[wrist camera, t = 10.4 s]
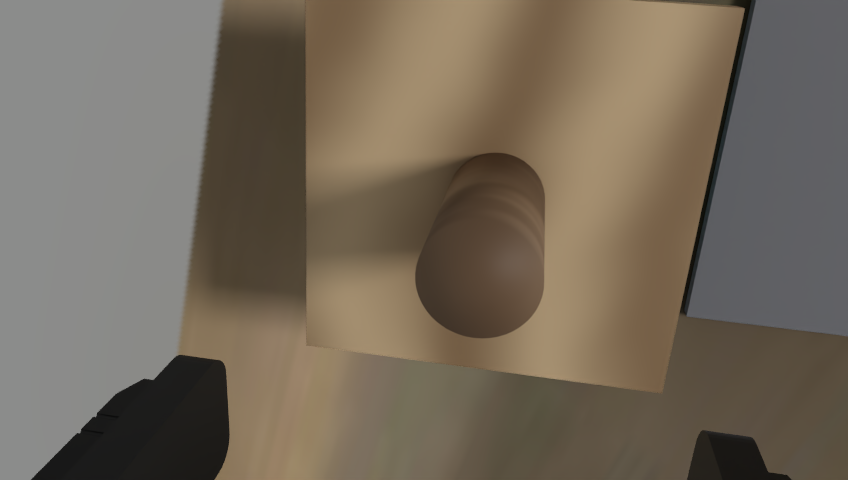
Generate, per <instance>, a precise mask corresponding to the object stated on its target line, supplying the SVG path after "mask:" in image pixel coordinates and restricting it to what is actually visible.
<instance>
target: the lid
mask: <svg viewBox="0 0 848 480" xmlns="http://www.w3.org/2000/svg"><path fill="white" fill-rule="evenodd" d="M744 11H745V8H742V7H738V6H728V5H714V4H700V3H685V2H671V1H656V0H305V32H306V345H308V346H315V347H323V348H330V349H337V350H345V351H352V352H360V353H367V354H374V355H382V356H389V357H397V358H404V359H411V360H419V361H426V362H434V363H441V364H448V365H456V366H463V367H471V368H478V369H485V370H493V371H500V372H508V373H515V374H522V375H530V376H537V377H545V378H552V379H559V380H567V381H574V382H582V383H589V384H596V385H604V386H611V387H619V388H626V389H633V390H641V391H648V392H655V393H662V391H663V387H664V382H665V377H666V373H667V368H668V363H669V359H670V354H671V350H672V345H673V340H674V336H675V331H676V326H677V322H678V317H679V312H680V308H681V303H682V298H683V294H684V289H685V285H686V280H687V275H688V271H689V266H690V261H691V257H692V252H693V247H694V243H695V238H696V233H697V229H698V224H699V220H700V215H701V210H702V206H703V201H704V196H705V192H706V187H707V182H708V178H709V173H710V169H711V164H712V159H713V155H714V150H715V145H716V141H717V136H718V131H719V127H720V122H721V117H722V113H723V108H724V104H725V99H726V94H727V90H728V85H729V80H730V76H731V71H732V66H733V62H734V57H735V52H736V48H737V43H738V39H739V34H740V29H741V25H742V20H743V15H744Z"/></svg>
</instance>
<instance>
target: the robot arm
mask: <svg viewBox="0 0 848 480" xmlns="http://www.w3.org/2000/svg"><path fill="white" fill-rule="evenodd" d="M228 445H229V416H228V398H227V380H226V369H225V366H224V363H223V362H222V361H220V360H213V359H206V358H199V357H192V356H185V355H178V356H176V357H175V358H174V359H173V360H172V361H171V362H170V363H169V364H168V365H167V366H166V367H165V368H164V370H163V371H162V372H161V373H160V374H159V375H158V376H157V377H156V378H155V379H154V380H149V379H143V380H141V381H139V382H137V383H135V384H133V385H132V386H130V387H128V388H126V389H124V390H122V391H121V392H119V393H117V394H116V395H115V396H114V397H113V398H112V399H111V400H110V401H109V402H108V403H107V404H106V405H105V406H104V407H103V408H102V409H101V410H100V411H99V412H98V413H97V416H96V417H93V418H92V419H91V420H90V421H89V422H88V423H87V424H86V425H85V426H84V427H83V428H82V429H81V433H80V434H79V433H77V434H76V435H75V436H74V437H73V438H72V439H71V440H70V441H69V442H68V443H67V444H66V445H65V446H64V447H63V448H62V449H61V450H60V451H59V452H58V453H57V454H56V455H55V456H54V457H53V458H52V459H51V460H50V461H49V462H48V463H47V464H46V465H45V466H44V467H43V468H42V469H41V470H40V471H39V472H38V473H37V474H36V475H35V476H34V477H33V478H32V479H31V480H214V479H215V478H216V476H217V475H218V473H219V471H220V470H221V468H222V466H223V463H224V461H225V458H226V454H227V450H228ZM687 480H791V479H790V478H789V477H788V476H787V475H783V474H776V473H769V472H768V471H767V468H766V466H765V464H764V461H763V459H762V456H761V454H760V452H759V449H758V447H757V444H756V442H755V440H754V439H753V438H751V437H746V436H739V435H732V434H725V433H718V432H711V431H704V430H703V431H701V432H700V434H699V436H698V438H697V441H696V445H695V449H694V453H693V457H692V461H691V466H690V470H689V474H688V478H687Z"/></svg>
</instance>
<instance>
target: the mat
mask: <svg viewBox="0 0 848 480" xmlns="http://www.w3.org/2000/svg"><path fill="white" fill-rule="evenodd" d="M684 311H685V314H686V316H687V317H695V318H703V319H712V320H720V321H728V322H736V323H744V324H753V325H761V326H769V327H777V328H785V329H794V330H802V331H810V332H818V333H827V334H835V335H843V336H848V0H752V1H751V5H750V10H749V15H748V19H747V24H746V28H745V33H744V38H743V42H742V47H741V51H740V56H739V61H738V65H737V70H736V74H735V79H734V84H733V88H732V93H731V97H730V102H729V107H728V111H727V116H726V120H725V125H724V129H723V134H722V139H721V143H720V148H719V152H718V157H717V162H716V166H715V171H714V175H713V180H712V185H711V189H710V194H709V198H708V203H707V208H706V212H705V217H704V221H703V226H702V230H701V235H700V240H699V244H698V249H697V253H696V258H695V263H694V267H693V272H692V276H691V281H690V286H689V290H688V295H687V299H686V304H685V309H684Z"/></svg>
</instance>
